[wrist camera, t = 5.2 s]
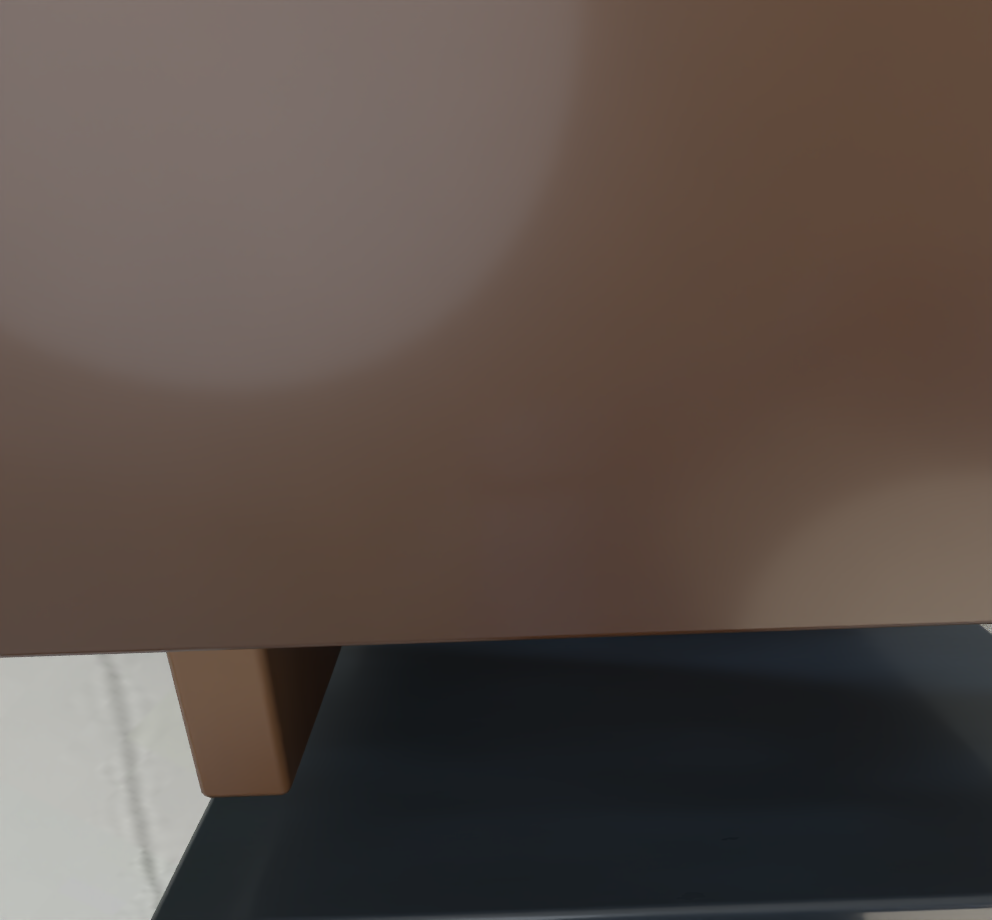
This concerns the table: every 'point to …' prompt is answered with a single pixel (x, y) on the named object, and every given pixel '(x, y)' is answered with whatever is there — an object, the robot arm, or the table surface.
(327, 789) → the drawer
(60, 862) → the table surface
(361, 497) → the cabinet
